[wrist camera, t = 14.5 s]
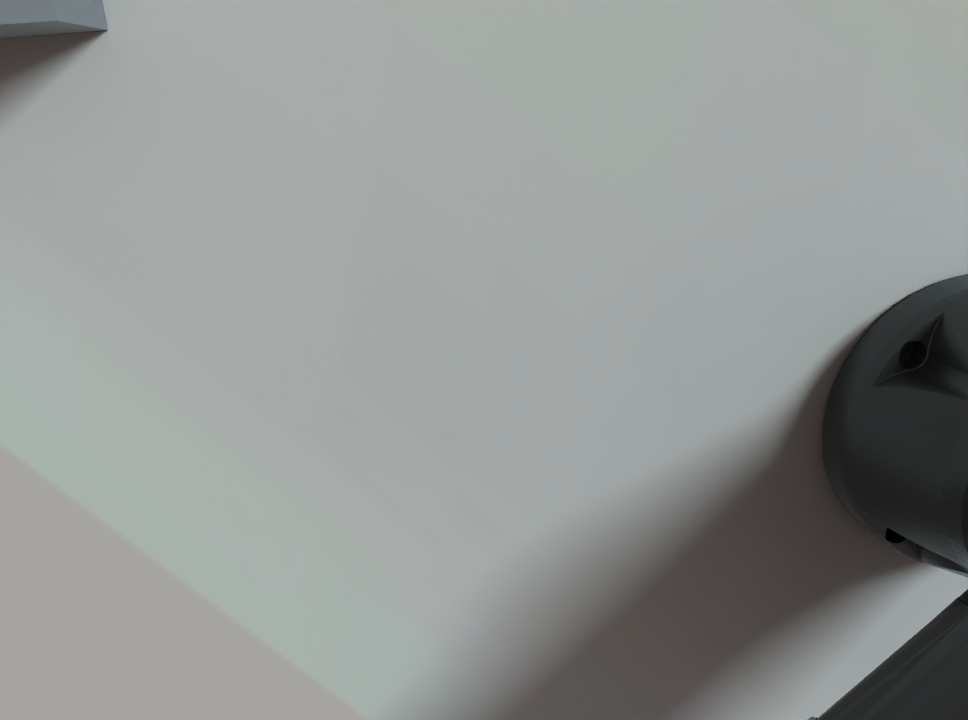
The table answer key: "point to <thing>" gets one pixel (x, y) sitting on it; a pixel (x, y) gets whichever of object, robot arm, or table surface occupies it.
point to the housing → (50, 17)
